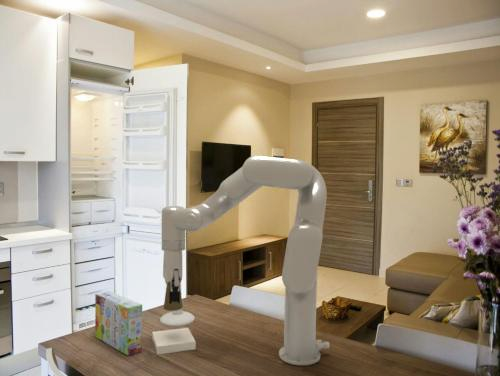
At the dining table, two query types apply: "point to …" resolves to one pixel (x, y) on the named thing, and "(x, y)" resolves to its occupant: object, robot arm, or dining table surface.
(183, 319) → the candlestick
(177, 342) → the tile base
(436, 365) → the dining table surface
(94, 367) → the dining table surface
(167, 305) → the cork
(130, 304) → the snack box
